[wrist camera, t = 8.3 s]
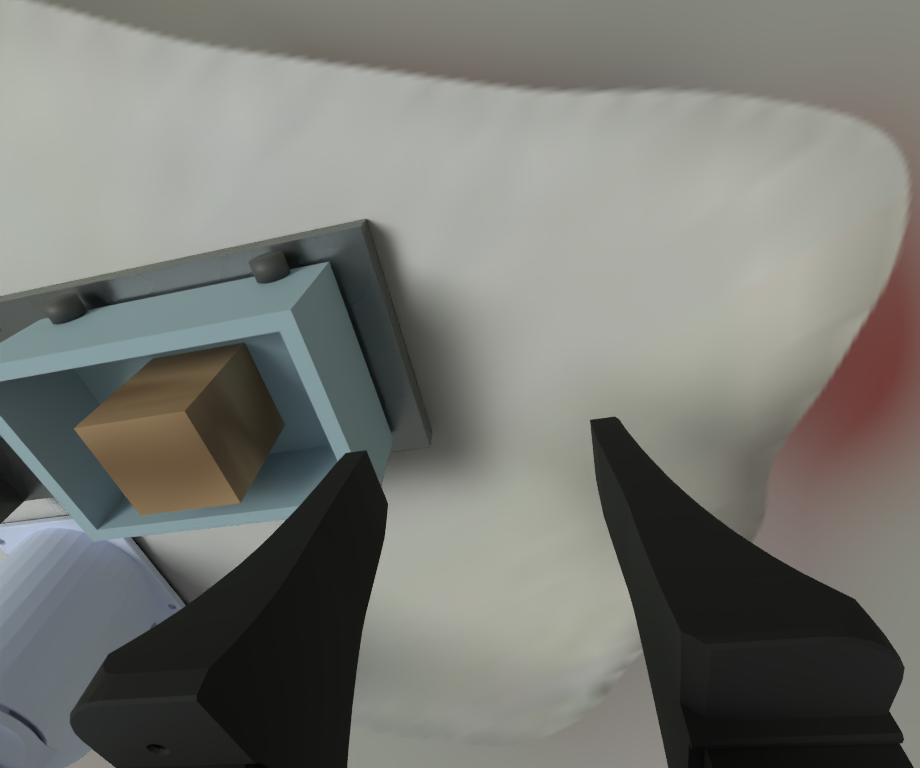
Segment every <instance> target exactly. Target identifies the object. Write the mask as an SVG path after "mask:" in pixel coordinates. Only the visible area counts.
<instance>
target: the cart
mask: <svg viewBox="0 0 920 768" xmlns="http://www.w3.org/2000/svg"><path fill="white" fill-rule="evenodd" d="M248 263H249V266H250V268H251V270H252V272H253V275H254V277H250V278H245V279H240V280H235V281H230V282H225V283H220V284H215V285H210V286H205V287H200V288H195V289H190V290H185V291H180V292H175V293H170V294H165V295H160V296H155V297H150V298H145V299H140V300H135V301H130V302H125V303H120V304H115V305H110V306H105V307H100V308H95V309H90V310H87V309H86V307H85V306H84V304H83V303H82V301H81V300H80V298H79V297H78V295H77V294H76V293H70V294H66V295H62V296H59V297H57V298H54V299H52V300H49V301H47V302H45V303H43V304H42V305H41V308H42V309H43V311H44V312H45V313H46V315H47V316H48V318H45V319H40V320H39V321H37V322H35V323H34V324H32V325H30V326H28V327H27V328H25V329H23V330H21V331H20V332H18V333H16V334H15V335H13V336H11V337H9V338H8V339H6V340H4V341H2V342H1V343H0V435H1V436H2V437H3V439H4V440H5V441H6V442H7V443H8V444H9V445H10V447H11V448H12V449H13V450H14V451H15V452H16V454H17V455H18V456H19V457H20V458H21V459H22V460H23V462H24V463H25V464H26V465H27V466H28V467H29V469H30V470H31V471H32V472H33V473H34V474H35V475H36V477H37V478H38V479H39V480H40V481H41V482H42V483H43V485H44V486H45V487H46V488H47V489H48V490H49V492H50V493H51V494H52V495H53V496H54V497H55V498H56V500H57V501H58V502H59V503H60V504H61V505H62V507H63V508H64V509H65V510H66V511H67V512H68V513H69V515H70V516H71V517H72V518H73V519H74V520H75V522H76V523H77V524H78V525H79V526H80V527H81V528H82V530H83V531H84V532H85V533H86V534H87V535H88V537H89V538H90V539H91V540H92V541H102V540H111V539H119V538H128V537H137V536H145V535H154V534H163V533H171V532H180V531H189V530H198V529H206V528H215V527H224V526H232V525H241V524H250V523H259V522H267V521H276V520H285V519H287V518H288V517H289V516H290V515H291V514H292V513H293V512H294V511H295V510H296V509H297V508H298V507H299V506H300V505H301V503H302V502H303V501H304V500H305V499H306V498H307V497H308V495H309V494H310V493H311V492H312V491H313V490H314V489H315V487H316V486H317V485H318V484H319V483H320V482H321V480H322V479H323V478H324V477H325V476H326V475H327V473H328V472H329V471H330V470H331V469H332V468H333V466H334V465H335V464H336V463H337V462H338V461H339V460H340V458H341V457H342V456H343V455H344V454H345V453H349V452H357V451H364V450H367V453H368V455H369V458H370V460H371V463H372V465H373V468H374V470H375V473H376V475H377V478H378V480H379V483H380V485H382V481H383V477H384V473H385V470H386V466H387V462H388V458H389V455H390V451H391V447H392V443H393V437H392V434H391V432H390V429H389V426H388V423H387V420H386V418H385V415H384V412H383V409H382V407H381V404H380V401H379V398H378V395H377V393H376V390H375V387H374V384H373V382H372V379H371V376H370V373H369V371H368V368H367V365H366V362H365V359H364V357H363V354H362V351H361V348H360V346H359V343H358V340H357V337H356V335H355V332H354V329H353V326H352V323H351V321H350V318H349V315H348V312H347V310H346V307H345V304H344V301H343V299H342V296H341V293H340V290H339V287H338V285H337V282H336V279H335V276H334V274H333V271H332V268H331V265H330V262H325V263H320V264H315V265H310V266H305V267H300V268H295V269H289V266H288V264H287V261H286V259H285V257H284V254H283V252H282V251H272V252H268V253H264V254H261V255H259V256H256V257H254V258H252V259H251V260H250V261H249V262H248ZM244 342H245V344H246V346H247V348H248V350H249V352H250V354H251V356H252V359H253V361H254V363H255V365H256V367H257V369H258V371H259V373H260V375H261V377H262V379H263V381H264V383H265V385H266V387H267V389H268V391H269V393H270V395H271V397H272V399H273V401H274V403H275V405H276V407H277V409H278V411H279V413H280V416H281V418H282V420H283V422H284V424H285V426H284V428H283V430H282V431H281V433H280V435H279V437H278V439H277V440H276V442H275V444H274V446H273V447H272V449H271V451H270V453H269V454H268V456H267V458H266V460H265V461H264V463H263V465H262V467H261V468H260V470H259V472H258V474H257V475H256V477H255V479H254V481H253V482H252V484H251V486H250V488H249V490H248V491H247V493H246V495H245V497H244V498H243V500H242V502H241V503H239V504H231V505H223V506H214V507H206V508H198V509H190V510H181V511H173V512H165V513H157V514H148V515H139V513H138V512H137V511H136V509H135V508H134V507H133V505H132V504H131V503H130V502H129V500H128V499H127V498H126V496H125V495H124V494H123V492H122V491H121V490H120V489H119V487H118V486H117V485H116V483H115V482H114V481H113V479H112V478H111V477H110V475H109V474H108V473H107V472H106V470H105V469H104V468H103V466H102V465H101V464H100V462H99V461H98V460H97V458H96V457H95V456H94V455H93V453H92V452H91V451H90V449H89V448H88V447H87V445H86V444H85V443H84V441H83V440H82V439H81V438H80V436H79V435H78V434H77V432H76V431H75V430H74V428H75V427H76V426H77V425H78V424H79V423H80V422H81V421H83V420H84V419H85V418H86V417H87V416H88V415H89V414H91V413H92V412H93V411H94V410H95V409H96V408H97V407H98V406H100V405H101V404H102V403H103V402H104V401H105V400H106V399H107V398H109V397H110V396H111V395H112V394H113V393H114V392H115V391H117V390H118V389H119V388H120V387H121V386H122V385H123V384H124V383H126V382H127V381H128V380H129V379H130V378H131V377H132V376H134V375H135V374H136V373H137V372H138V371H139V370H140V369H141V368H143V367H144V366H145V365H146V364H147V363H148V362H149V361H150V360H152V359H154V358H159V357H165V356H171V355H176V354H182V353H188V352H193V351H199V350H205V349H210V348H216V347H222V346H227V345H233V344H239V343H244Z"/></svg>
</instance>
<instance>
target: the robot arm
mask: <svg viewBox="0 0 920 768" xmlns="http://www.w3.org/2000/svg"><path fill="white" fill-rule="evenodd" d="M590 424H591V433H592V443H593V453H594V463H595V473H596V481H597V486H598V491H599V496H600V500H601V505H602V510H603V515H604V518H605V521H606V524H607V527H608V530H609V533H610V536H611V539H612V543H613V546H614V549H615V552H616V555H617V558H618V561H619V564H620V567H621V570H622V573H623V576H624V579H625V582H626V585H627V588H628V591H629V594H630V598H631V601H632V605H633V608H634V612H635V617H636V621H637V625H638V630H639V634H640V639H641V643H642V647H643V652H644V656H645V660H646V665H647V670H648V674H649V679H650V683H651V688H652V693H653V697H654V701H655V707H656V711H657V715H658V720H659V725H660V730H661V735H662V739H663V744H664V749H665V754H666V758H667V763H668V768H913V766H912V764H911V762H910V761H909V759H908V757H907V755H906V754H905V752H904V750H903V749H902V747H901V745H900V744H899V743H902V742H903V740H904V738H903V734H902V732H901V730H900V728H899V727H898V725H897V724H896V722H895V720H894V718H893V717H892V715H891V713H890V712H889V710H890V707H891V705H892V703H893V700H894V698H895V696H896V694H897V691H898V689H899V687H900V685H901V682H902V680H903V674H904V666H903V663H902V661H901V659H900V657H899V655H898V654H897V652H896V651H895V649H894V648H893V646H892V645H891V643H890V642H889V640H888V639H887V637H886V636H885V635H884V633H883V632H882V631H881V630H880V628H879V627H878V626H877V625H876V623H875V622H874V621H873V620H872V619H871V618H870V616H869V615H868V614H867V613H866V612H865V610H864V609H863V608H862V607H861V606H860V605H859V603H858V602H857V601H856V600H855V599H853V598H851V597H849V596H847V595H845V594H843V593H841V592H839V591H837V590H835V589H833V588H831V587H829V586H827V585H825V584H823V583H821V582H819V581H817V580H815V579H813V578H811V577H809V576H807V575H805V574H803V573H801V572H799V571H797V570H796V569H794V568H792V567H790V566H789V565H787V564H785V563H783V562H782V561H780V560H778V559H776V558H775V557H773V556H771V555H770V554H768V553H767V552H765V551H763V550H762V549H760V548H759V547H757V546H755V545H754V544H753V543H751V542H750V541H748V540H746V539H745V538H743V537H742V536H740V535H739V534H737V533H736V532H734V531H733V530H732V529H730V528H729V527H728V526H726V525H725V524H723V523H722V522H721V521H719V520H718V519H717V518H715V517H714V516H713V515H712V514H710V513H709V512H708V511H706V510H705V509H704V508H703V507H701V506H700V505H699V504H698V503H697V502H695V501H694V500H693V499H692V498H691V497H690V496H689V495H687V494H686V493H685V492H684V491H683V490H682V489H681V488H680V487H679V486H678V485H676V484H675V483H674V482H673V481H672V480H671V479H670V478H669V477H668V476H667V475H666V474H665V473H664V472H663V471H662V470H661V469H660V468H659V467H658V466H657V465H656V464H655V463H654V462H653V460H652V459H651V458H650V457H649V456H648V455H647V454H646V453H645V452H644V451H643V450H642V448H641V447H640V446H639V445H638V444H637V442H636V441H635V440H634V439H633V438H632V436H631V435H630V434H629V433H628V431H627V430H626V429H625V427H624V426H623V424H622V423H621V421H620V420H619V419H618V418H616V417H609V418H601V419H594V420H590ZM387 509H388V503H387V500H386V498H385V495H384V493H383V490H382V488H381V485H380V483H379V480H378V478H377V475H376V473H375V470H374V468H373V465H372V463H371V460H370V458H369V455H368V453H367V450H364V451H357V452H349V453H345V454H344V455H343V456H342V457H341V458H340V460H339V461H338V462H337V463H336V464H335V465H334V466H333V468H332V469H331V470H330V471H329V472H328V473H327V475H326V476H325V477H324V478H323V479H322V480H321V482H320V483H319V484H318V485H317V486H316V487H315V489H314V490H313V491H312V492H311V493H310V494H309V495H308V497H307V498H306V499H305V500H304V501H303V502H302V503H301V505H300V506H299V507H298V508H297V509H296V510H295V511H294V512H293V513H292V514H291V515H290V516H289V517H288V518H287V519H286V521H285V522H284V523H283V524H282V525H281V526H280V527H279V528H278V529H277V530H276V531H275V532H274V533H273V534H272V535H271V536H270V537H269V538H268V539H267V540H266V541H265V542H264V543H263V544H262V545H261V546H260V547H259V548H258V549H256V550H255V551H254V552H253V553H252V554H251V555H250V556H249V557H247V558H246V559H245V560H244V561H243V562H242V563H241V564H240V565H238V566H237V567H236V568H235V569H234V570H232V571H231V572H230V573H228V574H227V575H226V576H225V577H223V578H222V579H221V580H220V581H218V582H217V583H216V584H215V585H213V586H212V587H211V588H209V589H208V590H207V591H206V592H204V593H203V594H202V595H200V596H199V597H198V598H196V599H195V600H193V601H192V602H190V603H189V604H188V605H185V604H184V603H183V601H182V600H181V599H180V598H179V596H178V595H177V594H176V593H175V591H174V590H173V589H172V588H171V586H170V585H169V584H168V583H167V581H166V580H165V579H164V578H163V576H162V575H161V574H160V573H159V572H158V570H157V569H156V568H155V567H154V565H153V564H152V563H151V562H150V560H149V559H148V558H147V557H146V555H145V554H144V553H143V552H142V550H141V549H140V548H139V547H138V545H137V544H136V543H135V542H134V540H133V539H132V538H131V537H128V538H119V539H111V540H102V541H92V540H91V539H90V538H89V537H88V535H87V534H86V533H85V532H84V531H83V530H82V528H81V527H80V526H79V525H78V524H77V523H76V522H75V520H74V519H73V518H72V517H71V516H70V515H69V516H61V517H53V518H45V519H37V520H29V521H21V522H13V523H5V524H0V549H1V550H2V551H3V552H4V553H5V554H6V555H7V556H6V557H5V558H4V559H3V560H2V561H1V562H0V768H64V767H66V766H68V765H70V764H72V763H74V762H76V761H77V760H79V759H81V758H82V757H83V756H85V755H86V754H87V753H89V752H90V751H91V750H92V749H93V750H94V751H95V752H97V753H98V754H99V755H100V756H102V757H103V758H104V759H105V760H107V761H108V762H109V763H111V764H112V765H113V766H114V767H116V768H347V760H348V748H349V736H350V726H351V715H352V705H353V697H354V688H355V680H356V671H357V664H358V657H359V650H360V643H361V636H362V630H363V625H364V620H365V615H366V611H367V607H368V603H369V599H370V595H371V591H372V587H373V583H374V579H375V575H376V571H377V567H378V563H379V559H380V555H381V550H382V546H383V542H384V537H385V529H386V520H387Z"/></svg>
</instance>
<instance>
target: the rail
mask: <svg viewBox="0 0 920 768" xmlns="http://www.w3.org/2000/svg"><path fill="white" fill-rule="evenodd" d="M272 251H282V252H283V254H284V257H285V259H286V261H287V264H288V266H289V269H295V268H300V267H305V266H310V265H315V264H320V263H325V262H330V265H331V268H332V271H333V274H334V276H335V279H336V282H337V285H338V287H339V290H340V293H341V296H342V299H343V301H344V304H345V307H346V310H347V312H348V315H349V318H350V321H351V323H352V326H353V329H354V332H355V335H356V337H357V340H358V343H359V346H360V348H361V351H362V354H363V357H364V359H365V362H366V365H367V368H368V371H369V373H370V376H371V379H372V382H373V384H374V387H375V390H376V393H377V395H378V398H379V401H380V404H381V407H382V409H383V412H384V415H385V418H386V420H387V423H388V426H389V429H390V432H391V434H392V437H393V443H392V447H391V451H390V452H395V451H403V450H410V449H418V448H425V447H430V444H431V438H432V431H431V427H430V424H429V421H428V418H427V414H426V411H425V408H424V405H423V401H422V398H421V395H420V392H419V388H418V385H417V382H416V379H415V375H414V372H413V369H412V366H411V362H410V359H409V356H408V353H407V349H406V346H405V343H404V340H403V336H402V333H401V330H400V327H399V323H398V320H397V317H396V314H395V310H394V307H393V304H392V301H391V297H390V294H389V291H388V288H387V284H386V281H385V278H384V275H383V271H382V268H381V265H380V262H379V258H378V255H377V252H376V249H375V245H374V242H373V239H372V236H371V232H370V229H369V226H368V223H367V219H363V220H358V221H354V222H349V223H344V224H340V225H335V226H330V227H325V228H321V229H316V230H311V231H307V232H302V233H297V234H292V235H288V236H283V237H278V238H274V239H269V240H264V241H259V242H255V243H250V244H245V245H241V246H236V247H231V248H226V249H222V250H217V251H212V252H208V253H203V254H198V255H193V256H189V257H184V258H179V259H175V260H170V261H165V262H160V263H156V264H151V265H146V266H142V267H137V268H132V269H127V270H123V271H118V272H113V273H109V274H104V275H99V276H94V277H90V278H85V279H80V280H76V281H71V282H66V283H61V284H57V285H52V286H47V287H43V288H38V289H33V290H28V291H24V292H19V293H14V294H10V295H5V296H0V343H1V342H2V341H4V340H6V339H8V338H9V337H11V336H13V335H15V334H16V333H18V332H20V331H21V330H23V329H25V328H27V327H28V326H30V325H32V324H34V323H35V322H37V321H39V320H40V319H45V318H48V316H47V315H46V313H45V312H44V311H43V309H42V308H41V305H42V304H43V303H45V302H47V301H49V300H52V299H54V298H57V297H59V296H62V295H66V294H70V293H76V294H77V295H78V297H79V298H80V300H81V301H82V303H83V304H84V306H85V307H86V309H87V310H90V309H95V308H100V307H105V306H110V305H115V304H120V303H125V302H130V301H135V300H140V299H145V298H150V297H155V296H160V295H165V294H170V293H175V292H180V291H185V290H190V289H195V288H200V287H205V286H210V285H215V284H220V283H225V282H230V281H235V280H240V279H245V278H250V277H254V275H253V272H252V270H251V268H250V266H249V263H248V262H249V261H250V260H251V259H252V258H254V257H256V256H259V255H261V254H264V253H268V252H272ZM50 497H54V496H53V495H52V494H51V493H50V492H49V490H48V489H47V488H46V487H45V486H44V485H43V483H42V482H41V481H40V480H39V479H38V478H37V477H36V475H35V474H34V473H33V472H32V471H31V470H30V469H29V467H28V466H27V465H26V464H25V463H24V462H23V460H22V459H21V458H20V457H19V456H18V455H17V454H16V452H15V451H14V450H13V449H12V448H11V447H10V445H9V444H8V443H7V442H6V441H5V440H4V439H3V437H2V436H1V435H0V524H1V523H2V522H3V521H4V520H5V519H6V518H7V517H8V516H9V515H10V514H11V513H12V512H13V511H14V510H15V509H16V508H17V507H19V506H20V505H21V504H22V503H23V502H24V501H27V500H35V499H42V498H50Z"/></svg>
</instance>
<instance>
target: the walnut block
mask: <svg viewBox="0 0 920 768" xmlns="http://www.w3.org/2000/svg"><path fill="white" fill-rule="evenodd" d="M284 426H285V424H284V422H283V420H282V418H281V416H280V413H279V411H278V409H277V407H276V405H275V403H274V401H273V399H272V397H271V395H270V393H269V391H268V389H267V387H266V385H265V383H264V381H263V379H262V377H261V375H260V373H259V371H258V369H257V367H256V365H255V363H254V361H253V359H252V356H251V354H250V352H249V350H248V348H247V346H246V344H245V342H244V343H239V344H233V345H227V346H222V347H216V348H210V349H205V350H199V351H193V352H188V353H182V354H176V355H171V356H165V357H159V358H154V359H152V360H150V361H149V362H148V363H147V364H146V365H145V366H144V367H143V368H141V369H140V370H139V371H138V372H137V373H136V374H135V375H134V376H132V377H131V378H130V379H129V380H128V381H127V382H126V383H124V384H123V385H122V386H121V387H120V388H119V389H118V390H117V391H115V392H114V393H113V394H112V395H111V396H110V397H109V398H107V399H106V400H105V401H104V402H103V403H102V404H101V405H100V406H98V407H97V408H96V409H95V410H94V411H93V412H92V413H91V414H89V415H88V416H87V417H86V418H85V419H84V420H83V421H81V422H80V423H79V424H78V425H77V426H76V427H75V428H74V430H75V431H76V432H77V434H78V435H79V436H80V438H81V439H82V440H83V441H84V443H85V444H86V445H87V447H88V448H89V449H90V451H91V452H92V453H93V455H94V456H95V457H96V458H97V460H98V461H99V462H100V464H101V465H102V466H103V468H104V469H105V470H106V472H107V473H108V474H109V475H110V477H111V478H112V479H113V481H114V482H115V483H116V485H117V486H118V487H119V489H120V490H121V491H122V492H123V494H124V495H125V496H126V498H127V499H128V500H129V502H130V503H131V504H132V505H133V507H134V508H135V509H136V511H137V512H138V513H139V515H148V514H157V513H165V512H173V511H181V510H190V509H198V508H206V507H214V506H223V505H231V504H239V503H241V502H242V500H243V498H244V497H245V495H246V493H247V491H248V490H249V488H250V486H251V484H252V482H253V481H254V479H255V477H256V475H257V474H258V472H259V470H260V468H261V467H262V465H263V463H264V461H265V460H266V458H267V456H268V454H269V453H270V451H271V449H272V447H273V446H274V444H275V442H276V440H277V439H278V437H279V435H280V433H281V431H282V430H283V428H284Z"/></svg>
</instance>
